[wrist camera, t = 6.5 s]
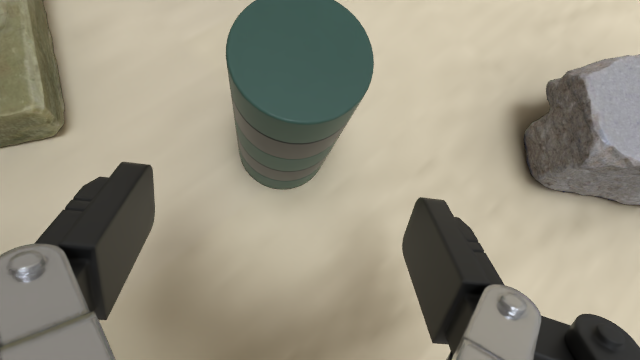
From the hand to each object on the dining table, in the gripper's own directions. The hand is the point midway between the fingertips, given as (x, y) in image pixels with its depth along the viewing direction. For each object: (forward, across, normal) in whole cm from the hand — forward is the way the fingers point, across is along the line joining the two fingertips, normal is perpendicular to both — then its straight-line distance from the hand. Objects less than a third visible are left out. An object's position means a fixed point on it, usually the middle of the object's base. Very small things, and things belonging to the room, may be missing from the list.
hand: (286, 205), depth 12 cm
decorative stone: (+12, -21, +2) cm, 24 cm away
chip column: (+10, 0, +3) cm, 11 cm away
